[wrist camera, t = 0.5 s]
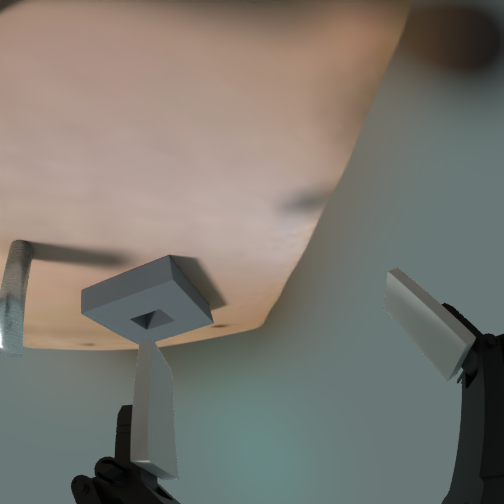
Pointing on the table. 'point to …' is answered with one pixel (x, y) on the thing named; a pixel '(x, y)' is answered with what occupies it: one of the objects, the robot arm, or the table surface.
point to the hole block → (147, 303)
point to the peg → (14, 297)
